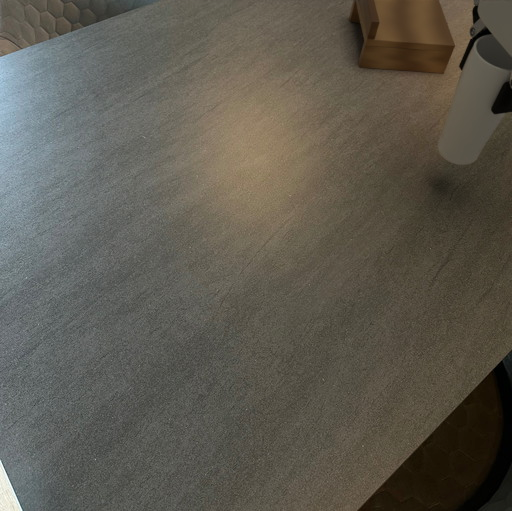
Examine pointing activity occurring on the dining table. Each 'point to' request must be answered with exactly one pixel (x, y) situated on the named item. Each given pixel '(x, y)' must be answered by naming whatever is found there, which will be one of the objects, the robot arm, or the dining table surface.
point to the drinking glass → (475, 102)
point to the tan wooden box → (403, 35)
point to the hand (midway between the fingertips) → (487, 88)
